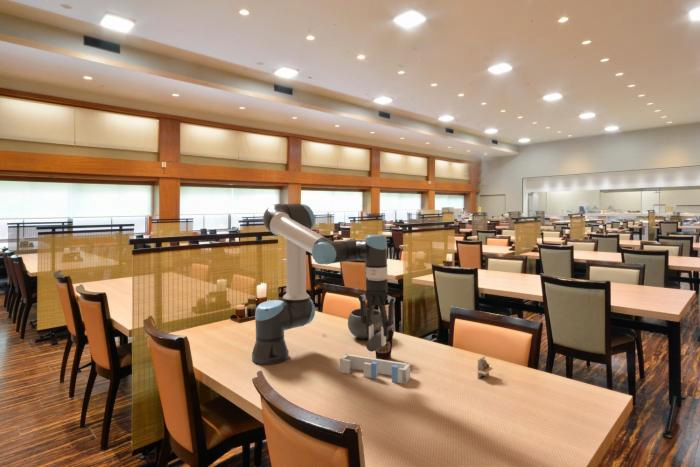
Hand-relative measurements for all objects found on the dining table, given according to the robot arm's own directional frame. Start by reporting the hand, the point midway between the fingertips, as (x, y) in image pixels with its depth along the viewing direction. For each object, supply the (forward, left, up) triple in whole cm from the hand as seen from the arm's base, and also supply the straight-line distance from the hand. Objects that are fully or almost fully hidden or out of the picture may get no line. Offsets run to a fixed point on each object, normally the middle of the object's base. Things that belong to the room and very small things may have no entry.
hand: (377, 344), depth 141 cm
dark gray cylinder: (0, 0, -1) cm, 1 cm away
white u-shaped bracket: (-4, +7, -14) cm, 16 cm away
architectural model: (+34, +21, -15) cm, 43 cm away
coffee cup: (-6, +23, -15) cm, 28 cm away
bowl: (-23, +46, -15) cm, 54 cm away
